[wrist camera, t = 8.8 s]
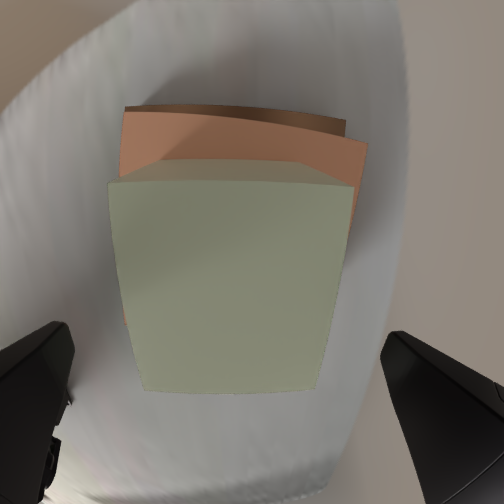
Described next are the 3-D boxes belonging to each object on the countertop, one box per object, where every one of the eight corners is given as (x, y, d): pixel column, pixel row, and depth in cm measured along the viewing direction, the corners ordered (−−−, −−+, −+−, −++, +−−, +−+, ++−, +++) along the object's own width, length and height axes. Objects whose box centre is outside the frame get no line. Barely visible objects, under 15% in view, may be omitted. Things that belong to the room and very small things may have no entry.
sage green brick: (168, 301, 15) (144, 390, 9) (159, 159, 12) (107, 183, 6) (285, 301, 15) (314, 389, 10) (298, 162, 12) (354, 187, 7)
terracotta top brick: (137, 297, 18) (124, 324, 15) (142, 114, 14) (123, 111, 11) (306, 311, 19) (318, 339, 16) (344, 140, 15) (368, 143, 12)
